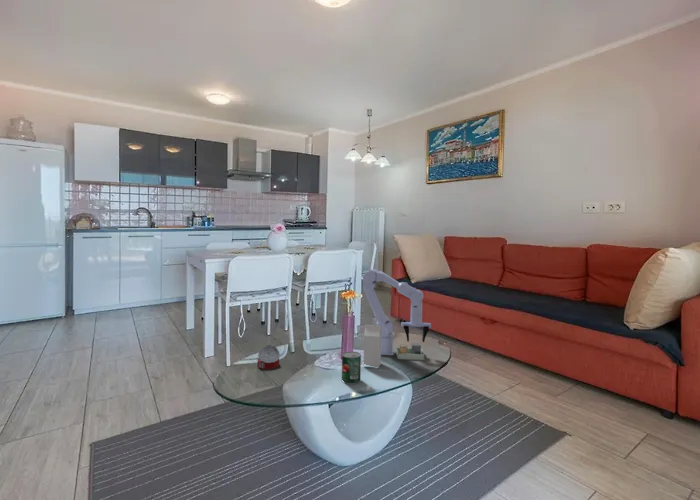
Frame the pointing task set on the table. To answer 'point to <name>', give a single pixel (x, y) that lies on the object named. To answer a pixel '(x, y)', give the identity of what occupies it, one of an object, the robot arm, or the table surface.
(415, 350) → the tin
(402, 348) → the jar
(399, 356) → the crate
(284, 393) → the table surface
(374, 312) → the robot arm
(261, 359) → the grey and red dome
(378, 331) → the milk carton
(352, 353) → the canned tomato
